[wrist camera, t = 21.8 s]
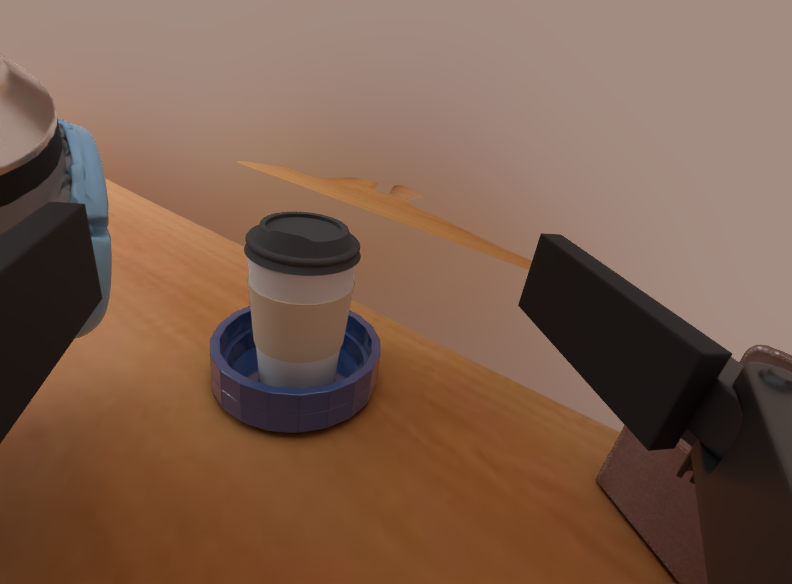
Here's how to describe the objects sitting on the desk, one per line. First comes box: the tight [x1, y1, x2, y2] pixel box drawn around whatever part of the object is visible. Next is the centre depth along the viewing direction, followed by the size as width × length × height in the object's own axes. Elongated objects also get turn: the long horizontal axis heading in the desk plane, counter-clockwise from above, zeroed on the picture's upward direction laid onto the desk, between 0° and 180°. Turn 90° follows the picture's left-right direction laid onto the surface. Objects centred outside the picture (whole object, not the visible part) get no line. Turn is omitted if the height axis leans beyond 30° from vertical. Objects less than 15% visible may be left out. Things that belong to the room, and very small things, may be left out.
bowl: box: [210, 306, 380, 433], centre depth 40 cm, size 15×15×4 cm
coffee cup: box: [244, 212, 360, 388], centre depth 38 cm, size 9×9×15 cm
